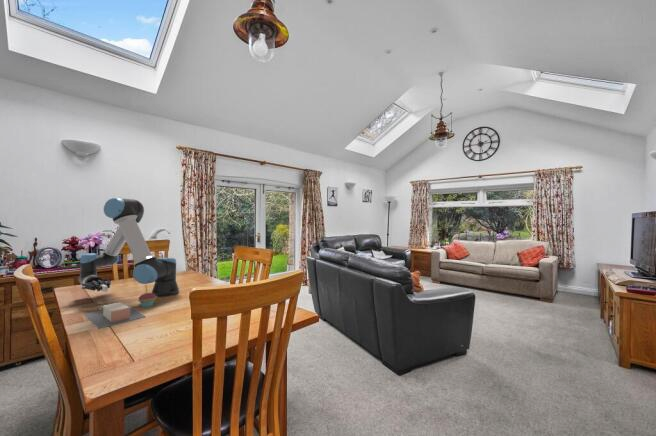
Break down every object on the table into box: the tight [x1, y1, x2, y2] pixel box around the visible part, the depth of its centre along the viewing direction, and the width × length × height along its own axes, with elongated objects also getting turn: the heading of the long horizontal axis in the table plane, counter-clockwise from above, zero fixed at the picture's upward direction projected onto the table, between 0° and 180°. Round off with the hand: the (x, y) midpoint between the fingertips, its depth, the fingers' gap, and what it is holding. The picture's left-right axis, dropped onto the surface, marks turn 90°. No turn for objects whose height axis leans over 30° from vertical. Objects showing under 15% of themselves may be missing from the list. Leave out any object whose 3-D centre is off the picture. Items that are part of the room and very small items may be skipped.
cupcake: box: [138, 284, 158, 308], centre depth 149 cm, size 9×8×12 cm
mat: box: [83, 304, 147, 330], centre depth 134 cm, size 28×18×1 cm, turn 53°
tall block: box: [102, 301, 130, 322], centre depth 132 cm, size 5×7×14 cm
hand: (105, 289), depth 142 cm, fingers closed
